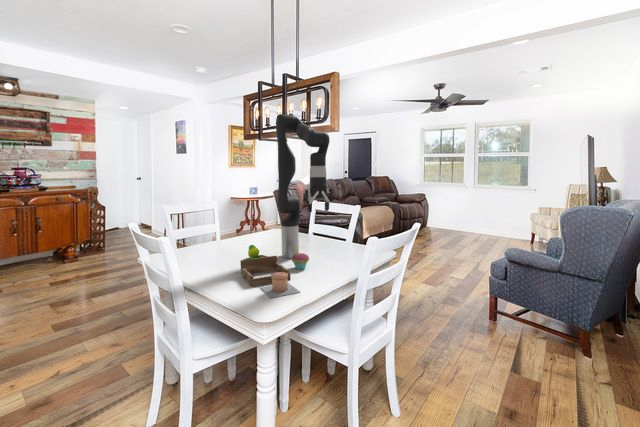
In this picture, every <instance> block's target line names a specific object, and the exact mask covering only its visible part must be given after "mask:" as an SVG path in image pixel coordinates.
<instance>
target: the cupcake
mask: <svg viewBox="0 0 640 427" xmlns="http://www.w3.org/2000/svg"><path fill="white" fill-rule="evenodd" d="M296 247H297V253H298V254H295V255H293V256H292V257H291V258H290V259H291V261H292V262H291V263H293V264H294V267H295V269H297V270H304V269H306V267H307V263H308V262H309V260H310V256H309V255H308V254H306V253H301V252H300V250H299V251H298V245H297V243H296Z"/></svg>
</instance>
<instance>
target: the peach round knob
mask: <svg viewBox="0 0 640 427" xmlns="http://www.w3.org/2000/svg"><path fill="white" fill-rule="evenodd" d="M270 276H271V278H272V283H271V286H272V291H274V292H285V291H287V290H288V283H289V282H288V281H287V278H288V274H287V273H285V272H273V273H271V275H270Z"/></svg>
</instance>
